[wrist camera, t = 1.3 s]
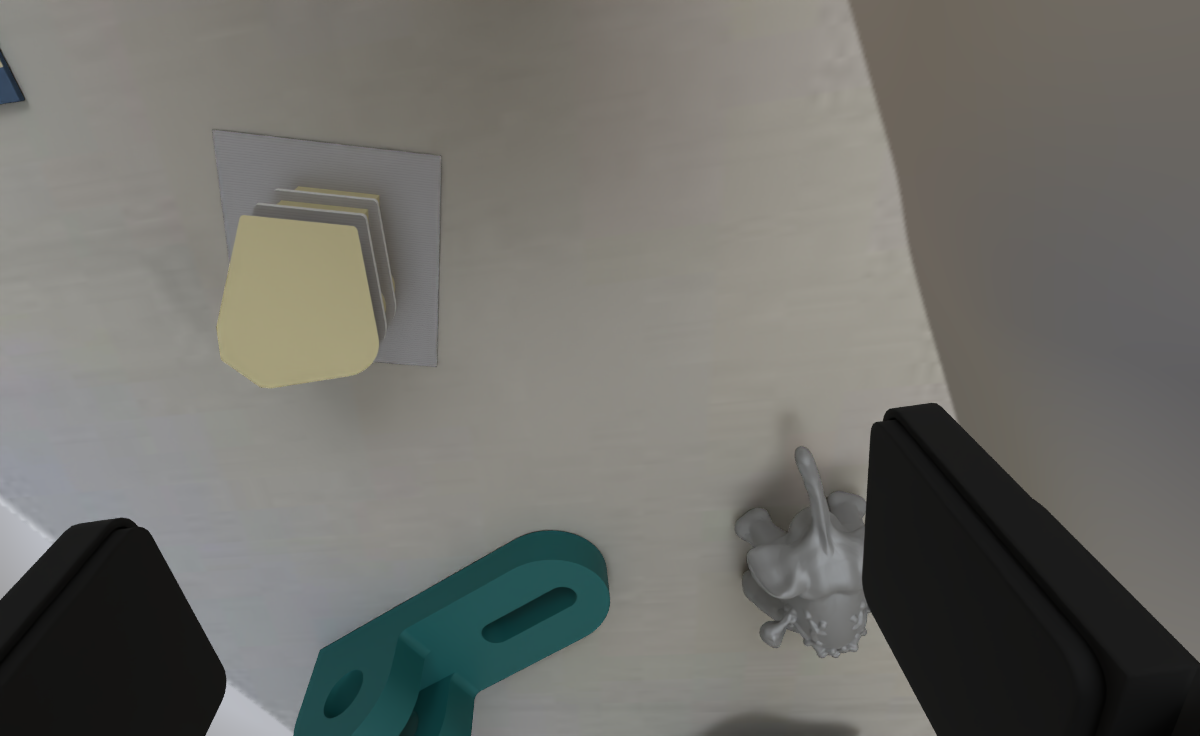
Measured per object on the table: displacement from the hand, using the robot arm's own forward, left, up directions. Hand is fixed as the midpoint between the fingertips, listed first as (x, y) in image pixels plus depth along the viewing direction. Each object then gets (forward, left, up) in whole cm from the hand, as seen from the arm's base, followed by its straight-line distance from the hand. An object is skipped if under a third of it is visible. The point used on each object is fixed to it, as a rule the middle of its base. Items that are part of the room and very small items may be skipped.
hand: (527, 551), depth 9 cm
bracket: (+26, -9, -23) cm, 36 cm away
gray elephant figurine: (+21, +10, -23) cm, 33 cm away
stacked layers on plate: (+3, -10, -23) cm, 25 cm away
